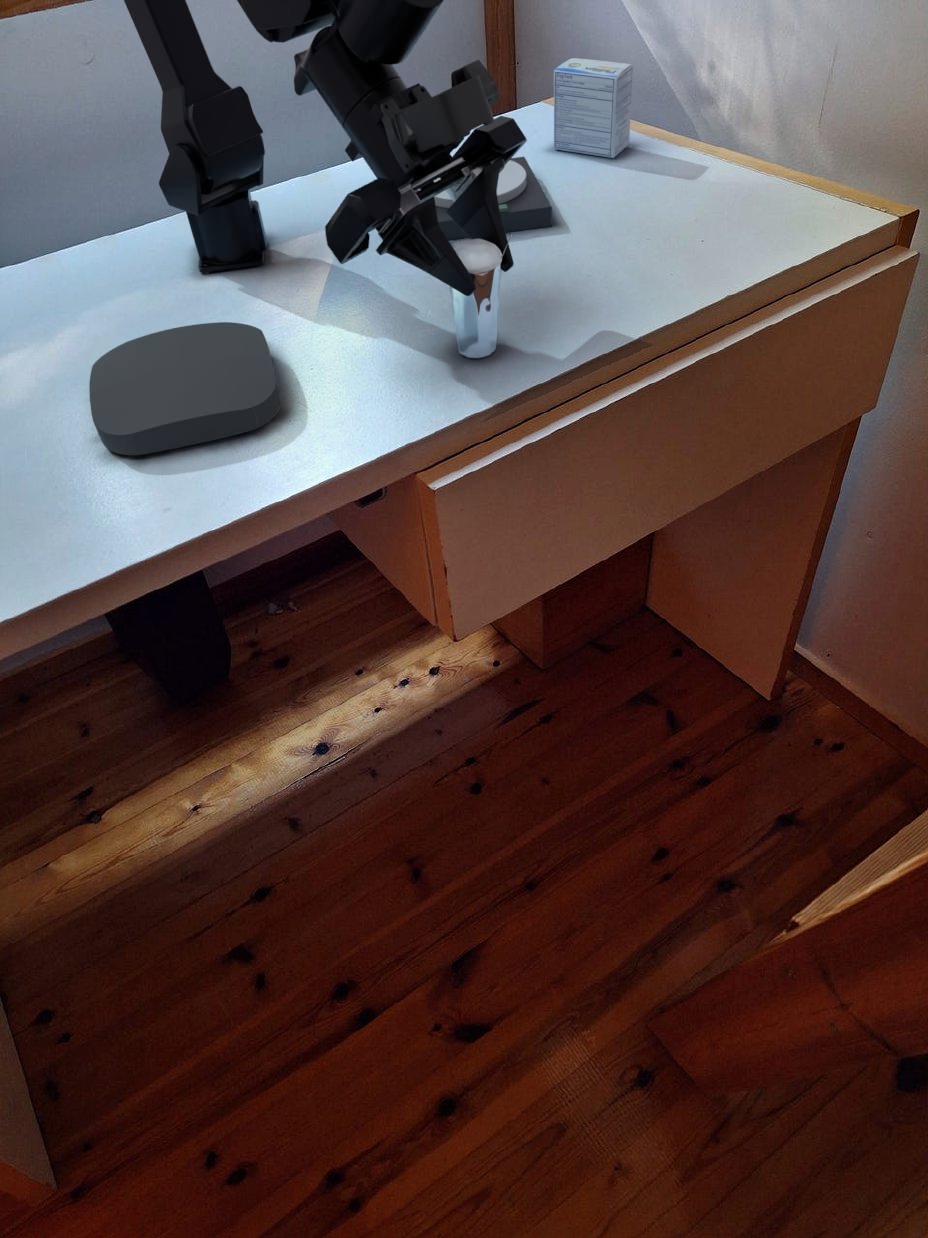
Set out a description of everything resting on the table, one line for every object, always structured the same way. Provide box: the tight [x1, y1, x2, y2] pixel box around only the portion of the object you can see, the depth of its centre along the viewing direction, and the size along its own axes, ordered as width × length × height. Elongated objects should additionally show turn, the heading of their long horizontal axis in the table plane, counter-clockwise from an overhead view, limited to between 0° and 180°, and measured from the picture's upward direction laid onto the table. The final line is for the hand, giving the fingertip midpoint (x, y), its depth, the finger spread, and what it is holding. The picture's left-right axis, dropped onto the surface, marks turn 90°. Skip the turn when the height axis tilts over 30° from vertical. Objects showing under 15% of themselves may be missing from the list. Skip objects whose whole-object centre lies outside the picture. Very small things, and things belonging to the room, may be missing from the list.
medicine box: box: [553, 57, 634, 159], centre depth 103 cm, size 8×4×9 cm, turn 58°
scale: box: [415, 156, 553, 241], centre depth 96 cm, size 14×14×3 cm
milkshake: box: [448, 233, 513, 359], centre depth 74 cm, size 4×5×10 cm
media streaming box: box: [88, 321, 282, 456], centre depth 74 cm, size 15×15×3 cm
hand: (491, 280), depth 72 cm, fingers closed on milkshake, 4 cm apart
